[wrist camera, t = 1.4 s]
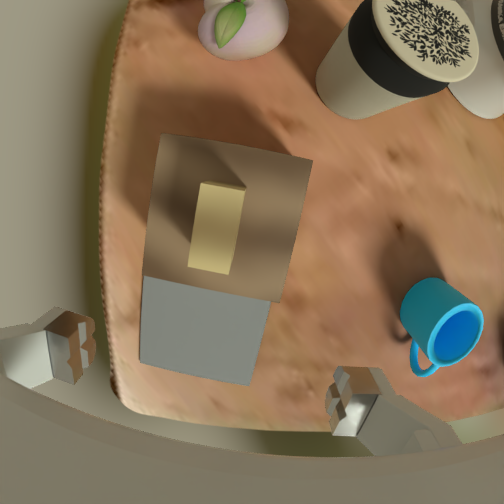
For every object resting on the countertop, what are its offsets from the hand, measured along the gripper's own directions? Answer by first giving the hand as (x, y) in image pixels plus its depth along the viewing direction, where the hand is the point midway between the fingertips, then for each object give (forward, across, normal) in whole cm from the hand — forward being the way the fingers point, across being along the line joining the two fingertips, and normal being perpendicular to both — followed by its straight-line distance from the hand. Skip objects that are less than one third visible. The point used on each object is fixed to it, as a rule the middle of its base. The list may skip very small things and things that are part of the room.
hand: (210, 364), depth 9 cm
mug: (+26, -25, +7) cm, 37 cm away
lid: (+18, +2, -2) cm, 18 cm away
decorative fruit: (+24, +4, -21) cm, 32 cm away
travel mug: (+25, -8, -18) cm, 32 cm away
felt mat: (+25, +3, +13) cm, 29 cm away
